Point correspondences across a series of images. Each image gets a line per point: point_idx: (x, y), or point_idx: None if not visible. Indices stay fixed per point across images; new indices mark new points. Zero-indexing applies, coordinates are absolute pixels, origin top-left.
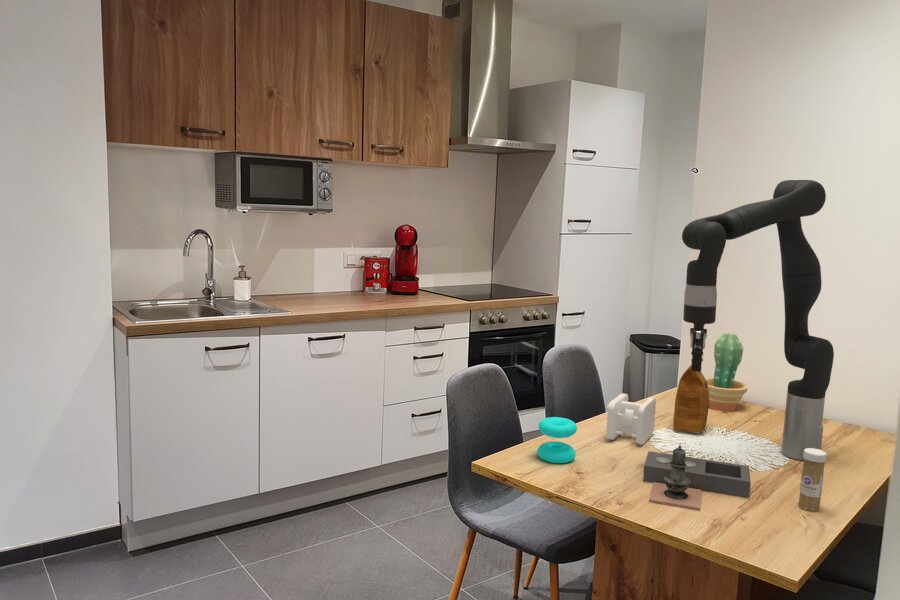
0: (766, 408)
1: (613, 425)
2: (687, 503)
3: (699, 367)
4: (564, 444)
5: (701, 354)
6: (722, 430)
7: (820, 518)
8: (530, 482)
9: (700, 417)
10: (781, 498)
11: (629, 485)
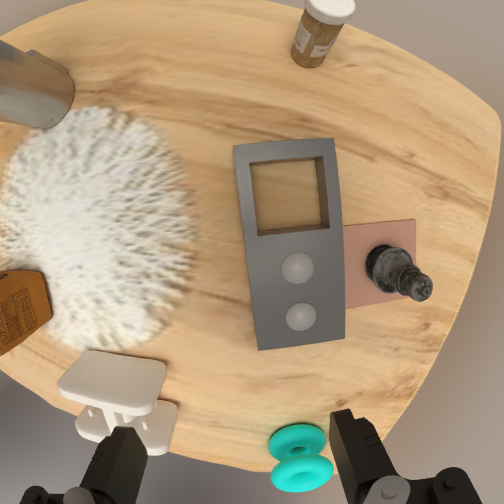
0: None
1: (170, 420)
2: (407, 240)
3: (373, 426)
4: (290, 448)
5: (460, 473)
6: (5, 241)
7: (341, 45)
8: (392, 424)
9: (22, 285)
10: (290, 91)
11: (362, 336)
